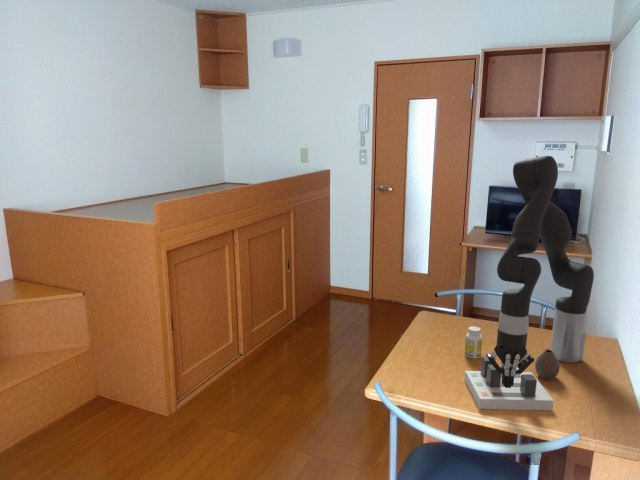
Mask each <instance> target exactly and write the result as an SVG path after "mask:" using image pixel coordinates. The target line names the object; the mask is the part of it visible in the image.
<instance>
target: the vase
mask: <svg viewBox="0 0 640 480" xmlns="http://www.w3.org/2000/svg"><path fill="white" fill-rule="evenodd" d="M534 368H535V373H536V374H537V376H538V377H539V378H540V379H543V380H547V381H549V380H550V381H551V380H554V379H555V378H556V377H557V376H558V375H559V372H560V361H559V360H558V359H557V358H556V356H555V355H554V353H553V351H552V350H550V348H548V349H544V351H543V352H542V353H540V355H538V356H537V357H536V359H535V363H534Z"/></svg>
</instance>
